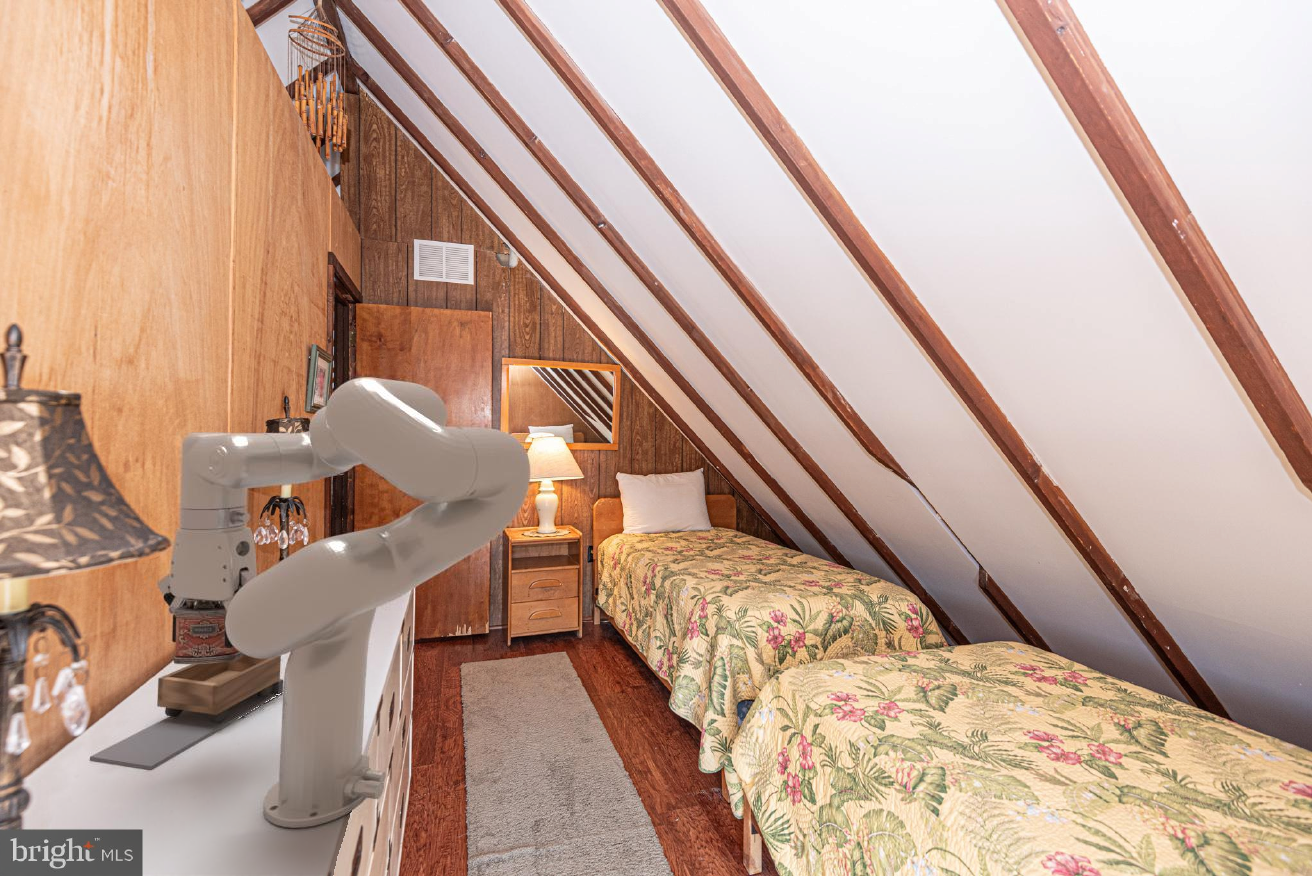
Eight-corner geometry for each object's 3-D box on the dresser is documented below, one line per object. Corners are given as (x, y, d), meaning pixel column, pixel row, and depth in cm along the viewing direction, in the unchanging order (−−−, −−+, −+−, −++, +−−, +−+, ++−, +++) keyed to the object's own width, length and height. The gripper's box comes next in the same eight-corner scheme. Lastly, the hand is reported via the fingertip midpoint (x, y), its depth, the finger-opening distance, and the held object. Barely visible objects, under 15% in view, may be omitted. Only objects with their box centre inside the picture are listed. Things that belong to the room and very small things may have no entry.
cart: (279, 692, 102) (280, 655, 101) (215, 728, 89) (217, 686, 89) (226, 685, 103) (228, 648, 103) (156, 720, 91) (158, 678, 90)
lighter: (168, 665, 79) (169, 594, 78) (181, 655, 82) (182, 587, 81) (236, 661, 81) (238, 592, 80) (246, 651, 84) (247, 585, 84)
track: (282, 693, 103) (283, 679, 103) (151, 769, 80) (151, 752, 80) (233, 686, 104) (234, 673, 104) (89, 760, 81) (90, 742, 81)
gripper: (289, 518, 84) (285, 637, 84) (185, 511, 86) (181, 627, 86) (246, 527, 76) (242, 657, 77) (133, 519, 79) (130, 646, 79)
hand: (210, 640), depth 81 cm, fingers closed on lighter, 7 cm apart
